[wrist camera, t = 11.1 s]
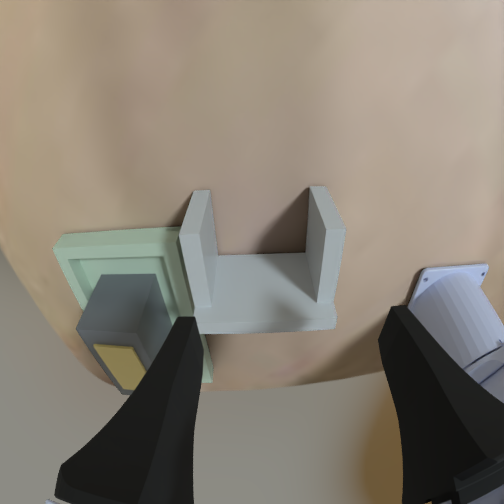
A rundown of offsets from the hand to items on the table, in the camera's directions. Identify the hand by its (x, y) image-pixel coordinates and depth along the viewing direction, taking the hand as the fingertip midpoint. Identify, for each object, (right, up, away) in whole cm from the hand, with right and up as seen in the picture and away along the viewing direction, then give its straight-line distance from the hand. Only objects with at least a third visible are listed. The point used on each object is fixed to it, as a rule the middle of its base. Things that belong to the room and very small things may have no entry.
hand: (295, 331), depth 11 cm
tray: (-11, -2, +14) cm, 18 cm away
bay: (-1, +4, +9) cm, 10 cm away
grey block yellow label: (-11, -2, +13) cm, 17 cm away
